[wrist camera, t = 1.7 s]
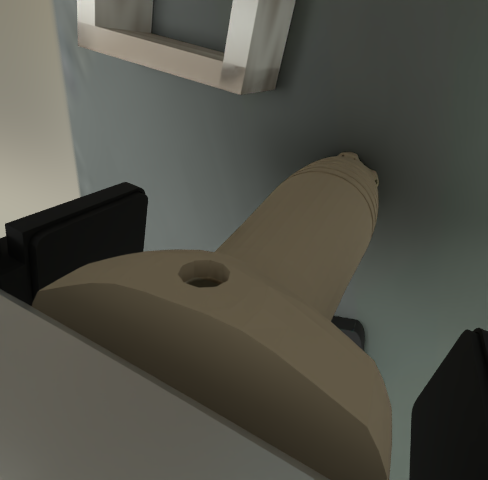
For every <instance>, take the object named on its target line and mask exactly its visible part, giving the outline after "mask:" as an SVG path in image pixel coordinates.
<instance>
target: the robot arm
mask: <svg viewBox="0 0 488 480" xmlns="http://www.w3.org/2000/svg"><path fill="white" fill-rule="evenodd" d="M147 205H148V197H147V196H146V195H145V192H144V190H143V189H142V188H140V187H137V186H135V185H133V184H130V183H128V182H123V183H121V184H118V185H115V186H112V187H109V188H106V189H103V190H100V191H98V192H95V193H92V194H89V195H86V196H83V197H80V198H78V199H75V200H72V201H69V202H66V203H63V204H60V205H57V206H55V207H52V208H49V209H46V210H43V211H40V212H38V213H35V214H32V215H29V216H26V217H23V218H20V219H17V220H15V221H12V222H9V223H6V224H5V229H6V236H5V237H3V238H0V480H330V479H328V478H327V477H325V476H323V475H321V474H320V473H318V472H316V471H315V470H313V469H311V468H309V467H308V466H306V465H304V464H303V463H301V462H299V461H298V460H296V459H294V458H292V457H291V456H289V455H287V454H286V453H284V452H282V451H280V450H279V449H277V448H275V447H274V446H272V445H270V444H269V443H267V442H265V441H263V440H262V439H260V438H258V437H257V436H255V435H253V434H251V433H250V432H248V431H246V430H245V429H243V428H241V427H240V426H238V425H236V424H234V423H233V422H231V421H229V420H228V419H226V418H224V417H222V416H221V415H219V414H217V413H216V412H214V411H212V410H210V409H209V408H207V407H205V406H204V405H202V404H200V403H198V402H197V401H195V400H193V399H192V398H190V397H188V396H186V395H185V394H183V393H181V392H179V391H178V390H176V389H174V388H173V387H171V386H169V385H167V384H166V383H164V382H162V381H160V380H159V379H157V378H155V377H154V376H152V375H150V374H148V373H147V372H145V371H143V370H141V369H140V368H138V367H136V366H135V365H133V364H131V363H129V362H128V361H126V360H124V359H122V358H121V357H119V356H117V355H115V354H114V353H112V352H110V351H109V350H107V349H105V348H103V347H102V346H100V345H98V344H96V343H95V342H93V341H91V340H89V339H88V338H86V337H84V336H82V335H81V334H79V333H77V332H75V331H74V330H72V329H70V328H68V327H67V326H65V325H63V324H61V323H60V322H58V321H56V320H54V319H53V318H51V317H49V316H47V315H46V314H44V313H42V312H40V311H39V310H37V309H35V308H33V307H32V303H33V301H34V299H35V297H36V295H37V292H38V291H39V290H41V289H43V288H44V287H46V286H48V285H50V284H51V283H53V282H55V281H57V280H58V279H60V278H62V277H64V276H65V275H67V274H69V273H71V272H73V271H75V270H76V269H78V268H80V267H82V266H85V265H87V264H90V263H93V262H97V261H101V260H105V259H108V258H113V257H117V256H122V255H126V254H132V253H139V252H143V248H144V237H145V227H146V216H147ZM409 480H488V331H485V330H483V329H481V328H476V329H475V330H474V331H473V332H472V331H470V330H468V329H467V330H465V331H464V332H463V333H462V334H461V336H460V337H459V339H458V340H457V341H456V343H455V344H454V346H453V347H452V349H451V350H450V352H449V353H448V355H447V356H446V357H445V359H444V360H443V362H442V363H441V365H440V366H439V368H438V369H437V370H436V372H435V373H434V375H433V376H432V378H431V379H430V381H429V382H428V384H427V385H426V386H425V388H424V389H423V391H422V392H421V394H420V395H419V397H418V398H417V400H416V401H415V403H414V406H413V409H412V418H411V448H410V479H409Z"/></svg>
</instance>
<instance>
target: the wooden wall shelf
mask: <svg viewBox="0 0 488 480" xmlns="http://www.w3.org/2000/svg"><path fill="white" fill-rule="evenodd" d="M295 1H296V0H233V4H232V10H231V16H230V22H229V29H228V35H227V41H226V47H225V53H223V52H219V51H215V50H212V49H208V48H204V47H201V46H197V45H193V44H190V43H186V42H182V41H178V40H175V39H171V38H167V37H164V36H160V35H156V34H153V33H151V28H152V13H153V0H77V18H78V46H80V47H83V48H87V49H90V50H93V51H97V52H100V53H103V54H107V55H110V56H113V57H117V58H120V59H123V60H126V61H130V62H133V63H136V64H140V65H143V66H146V67H150V68H153V69H156V70H160V71H163V72H166V73H170V74H173V75H176V76H180V77H183V78H186V79H190V80H193V81H196V82H200V83H203V84H206V85H209V86H213V87H216V88H219V89H223V90H226V91H229V92H233V93H236V94H239V95H243V94H250V93H257V92H264V91H270V90H275V87H276V83H277V78H278V74H279V70H280V65H281V61H282V57H283V53H284V48H285V44H286V40H287V36H288V31H289V27H290V23H291V19H292V14H293V10H294V6H295Z"/></svg>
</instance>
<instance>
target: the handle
mask: <svg viewBox="0 0 488 480" xmlns="http://www.w3.org/2000/svg"><path fill="white" fill-rule="evenodd" d="M378 185H379V179H378V175H377V173H376V171H373V170H371V169H369V168H367V167H366V166H365V165H364V164H363V163H362V162H361V161H360V160H359V158H358V155H357V154H355V153H352V152H342V153H340V154H339V155H338V156H334V157H328V158H323V159H321V160H318V161H315V162H313V163H311V164H309V165H307V166H305V167H304V168H302V169H300V170H298V171H297V172H295V173H294V174H292V175H291V176H290V177H289V178H287V179H286V180H285V181H284V182H282V183H281V184H280V185H279V186H278V187H277V188H276V189H275V190H274V191H273V192H272V193H271V194H270V195H269V196H268V197H267V198H266V200H265V201H264V202H263V203H262V204H261V205H260V206H259V207H258V208H257V209H256V210H255V211H254V212H253V213H252V215H251V216H250V217H249V218H248V219H247V220H246V221H245V222H244V223H243V224H242V225H241V226H240V227H239V228H238V229H237V230H236V231H235V232H234V233H233V234H232V235H231V236H230V237H229V238H228V239H227V240H226V241H225V242H224V243H223V244H222V245H221V246H220V247H219V248H218V249H217V250H216V251H215V252H209V251H203V250H159V251H146V252H139V253H132V254H126V255H122V256H117V257H113V258H108V259H105V260H101V261H97V262H93V263H90V264H87V265H85V266H82V267H80V268H78V269H76V270H75V271H73V272H71V273H69V274H67V275H65V276H64V277H62V278H60V279H58V280H57V281H55V282H53V283H51V284H50V285H48V286H46V287H44V288H43V289H41V290H39V291H38V292H37V295H36V297H35V299H34V301H33V303H32V307H33V308H35V309H37V310H39V311H40V312H42V313H44V314H46V315H47V316H49V317H51V318H53V319H54V320H56V321H58V322H60V323H61V324H63V325H65V326H67V327H68V328H70V329H72V330H74V331H75V332H77V333H79V334H81V335H82V336H84V337H86V338H88V339H89V340H91V341H93V342H95V343H96V344H98V345H100V346H102V347H103V348H105V349H107V350H109V351H110V352H112V353H114V354H115V355H117V356H119V357H121V358H122V359H124V360H126V361H128V362H129V363H131V364H133V365H135V366H136V367H138V368H140V369H141V370H143V371H145V372H147V373H148V374H150V375H152V376H154V377H155V378H157V379H159V380H160V381H162V382H164V383H166V384H167V385H169V386H171V387H173V388H174V389H176V390H178V391H179V392H181V393H183V394H185V395H186V396H188V397H190V398H192V399H193V400H195V401H197V402H198V403H200V404H202V405H204V406H205V407H207V408H209V409H210V410H212V411H214V412H216V413H217V414H219V415H221V416H222V417H224V418H226V419H228V420H229V421H231V422H233V423H234V424H236V425H238V426H240V427H241V428H243V429H245V430H246V431H248V432H250V433H251V434H253V435H255V436H257V437H258V438H260V439H262V440H263V441H265V442H267V443H269V444H270V445H272V446H274V447H275V448H277V449H279V450H280V451H282V452H284V453H286V454H287V455H289V456H291V457H292V458H294V459H296V460H298V461H299V462H301V463H303V464H304V465H306V466H308V467H309V468H311V469H313V470H315V471H316V472H318V473H320V474H321V475H323V476H325V477H327V478H328V479H330V480H389V474H390V462H391V448H392V409H391V404H390V401H389V397H388V394H387V390H386V387H385V384H384V381H383V378H382V376H381V374H380V372H379V370H378V368H377V366H376V364H375V361H374V360H373V359H372V358H371V357H369V356H368V355H367V354H366V353H365V352H364V351H363V350H362V349H361V348H360V347H359V346H358V345H356V344H355V343H354V342H353V341H352V340H351V339H350V338H349V337H348V336H346V335H345V334H344V333H343V332H342V331H341V330H340V329H338V328H337V327H336V326H335V325H334V324H333V323H332V322H331V320H332V318H333V316H334V313H335V311H336V309H337V307H338V305H339V303H340V301H341V298H342V296H343V294H344V292H345V290H346V288H347V286H348V284H349V282H350V280H351V278H352V276H353V274H354V272H355V271H356V269H357V267H358V265H359V263H360V261H361V259H362V257H363V255H364V253H365V251H366V249H367V247H368V245H369V243H370V240H371V237H372V234H373V231H374V228H375V225H376V220H377V214H378V205H379V203H378V190H377V187H378Z"/></svg>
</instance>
